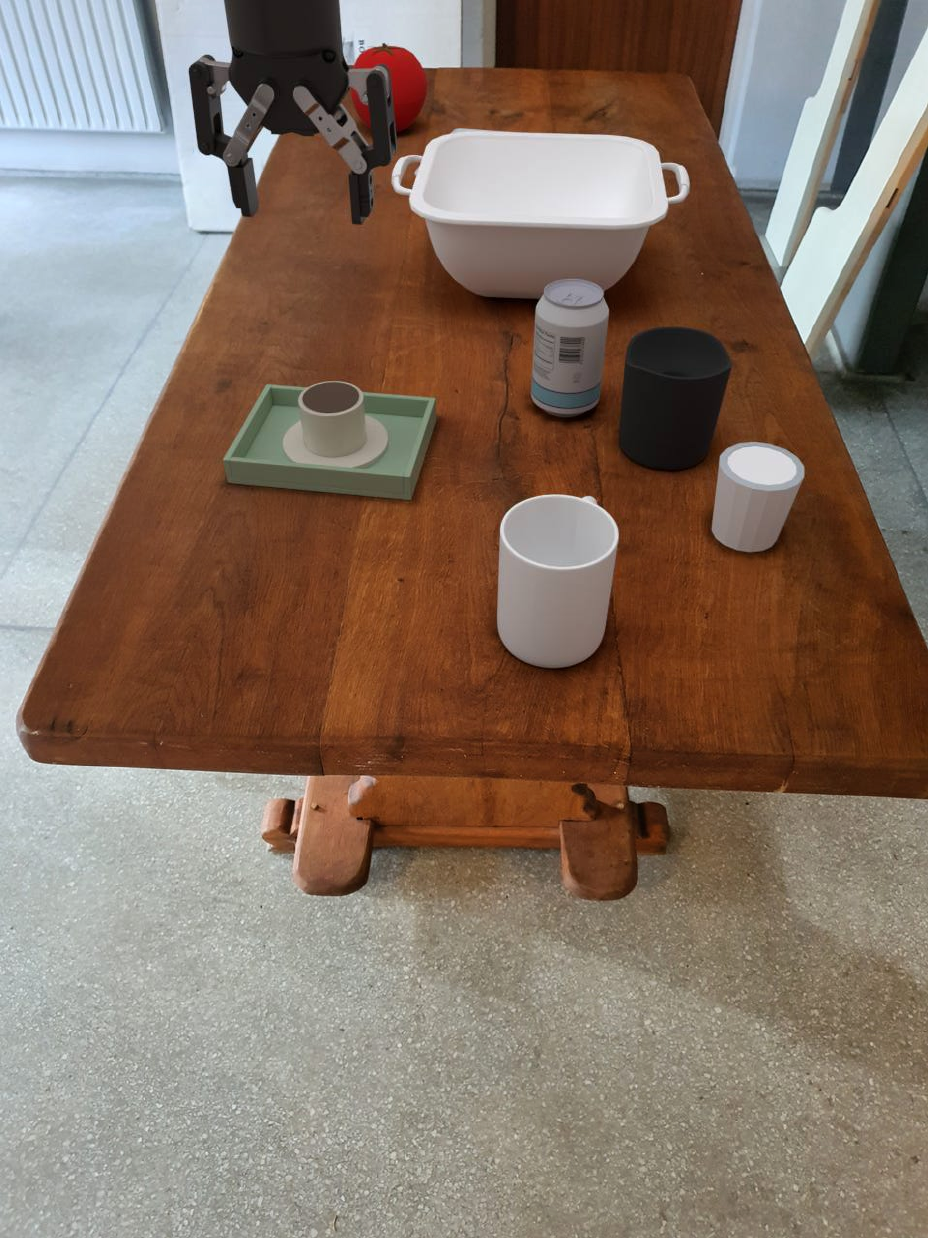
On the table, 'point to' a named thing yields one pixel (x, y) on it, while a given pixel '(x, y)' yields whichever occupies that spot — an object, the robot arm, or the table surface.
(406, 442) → the tray
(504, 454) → the table surface
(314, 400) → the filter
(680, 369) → the pen holder
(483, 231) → the baking dish
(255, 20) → the robot arm
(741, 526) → the white short cylinder
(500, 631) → the cup
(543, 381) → the beverage can
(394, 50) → the tomato
